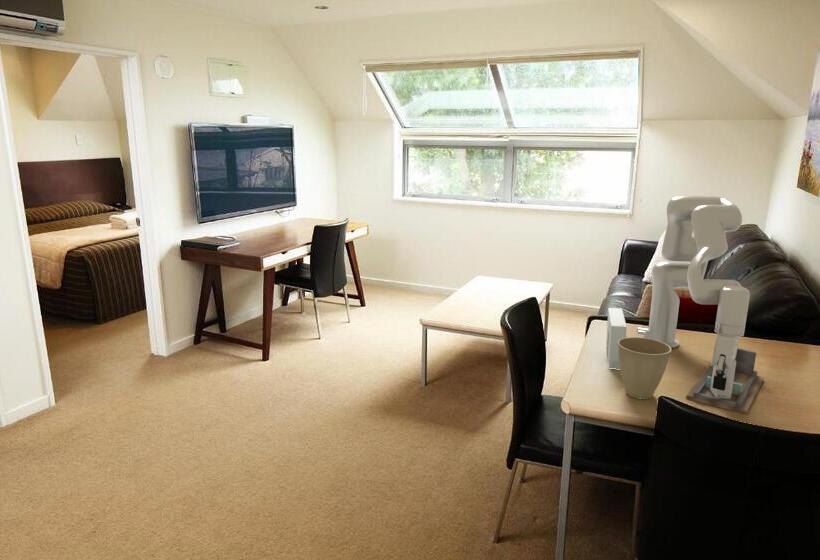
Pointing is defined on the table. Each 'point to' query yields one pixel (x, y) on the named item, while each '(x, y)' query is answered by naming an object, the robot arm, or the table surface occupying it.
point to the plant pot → (642, 365)
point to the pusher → (735, 389)
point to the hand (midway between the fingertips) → (721, 384)
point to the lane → (742, 376)
